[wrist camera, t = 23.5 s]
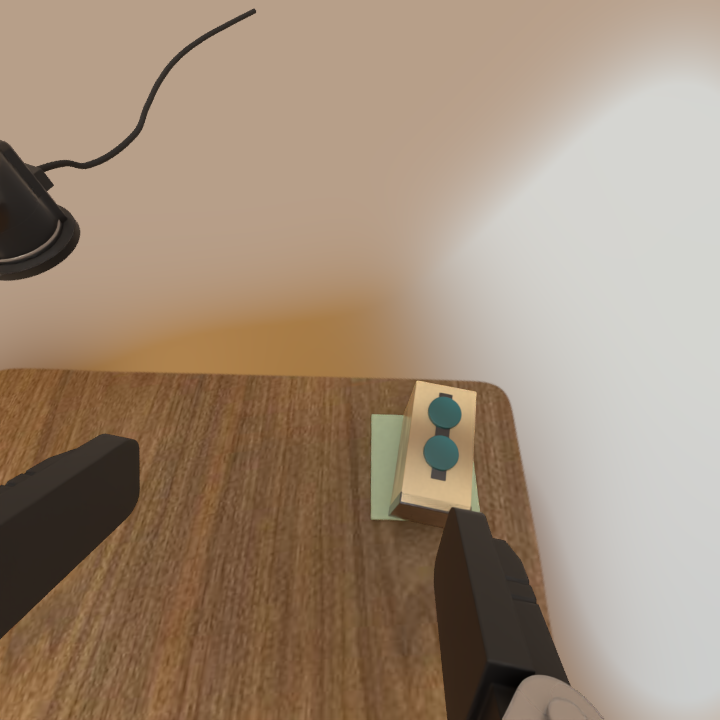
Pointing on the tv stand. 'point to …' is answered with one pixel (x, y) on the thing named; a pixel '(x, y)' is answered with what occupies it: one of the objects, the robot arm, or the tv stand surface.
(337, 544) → the tv stand surface
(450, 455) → the holder
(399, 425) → the pad
